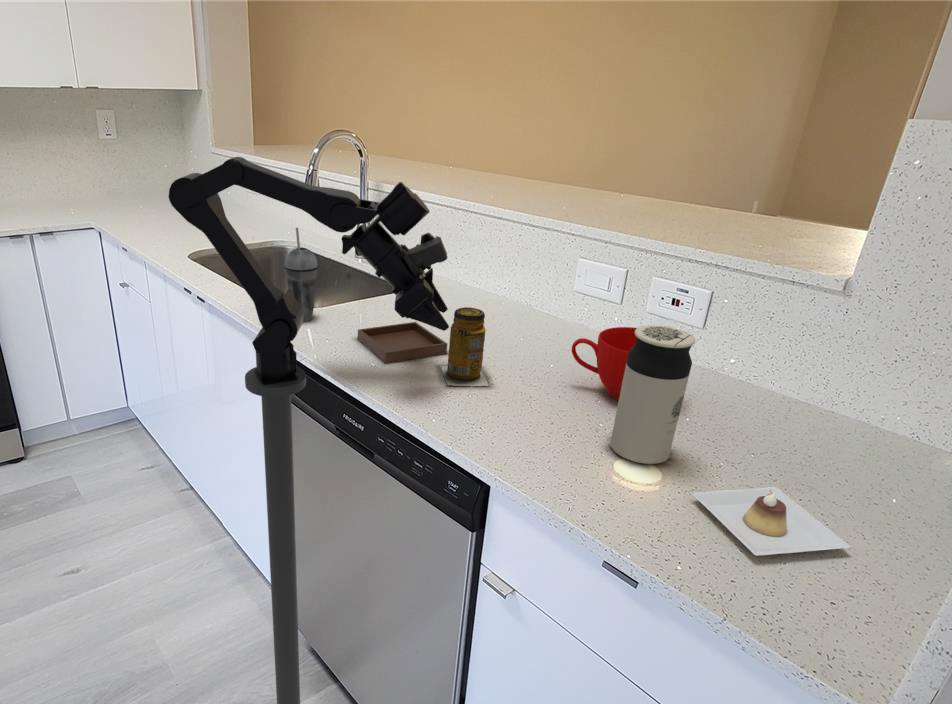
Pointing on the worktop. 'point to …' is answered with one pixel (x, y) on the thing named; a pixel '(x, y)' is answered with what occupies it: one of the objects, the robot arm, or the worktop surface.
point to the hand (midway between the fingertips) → (446, 319)
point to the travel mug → (652, 394)
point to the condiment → (466, 349)
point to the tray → (401, 342)
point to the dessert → (769, 521)
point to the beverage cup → (302, 277)
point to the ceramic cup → (610, 356)
